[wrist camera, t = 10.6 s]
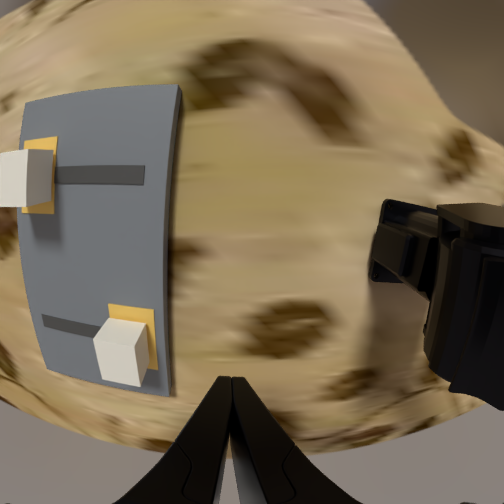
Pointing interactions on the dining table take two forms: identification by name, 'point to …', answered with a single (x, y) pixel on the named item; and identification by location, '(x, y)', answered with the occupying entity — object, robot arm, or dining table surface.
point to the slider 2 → (122, 351)
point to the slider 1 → (25, 177)
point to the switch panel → (101, 225)
